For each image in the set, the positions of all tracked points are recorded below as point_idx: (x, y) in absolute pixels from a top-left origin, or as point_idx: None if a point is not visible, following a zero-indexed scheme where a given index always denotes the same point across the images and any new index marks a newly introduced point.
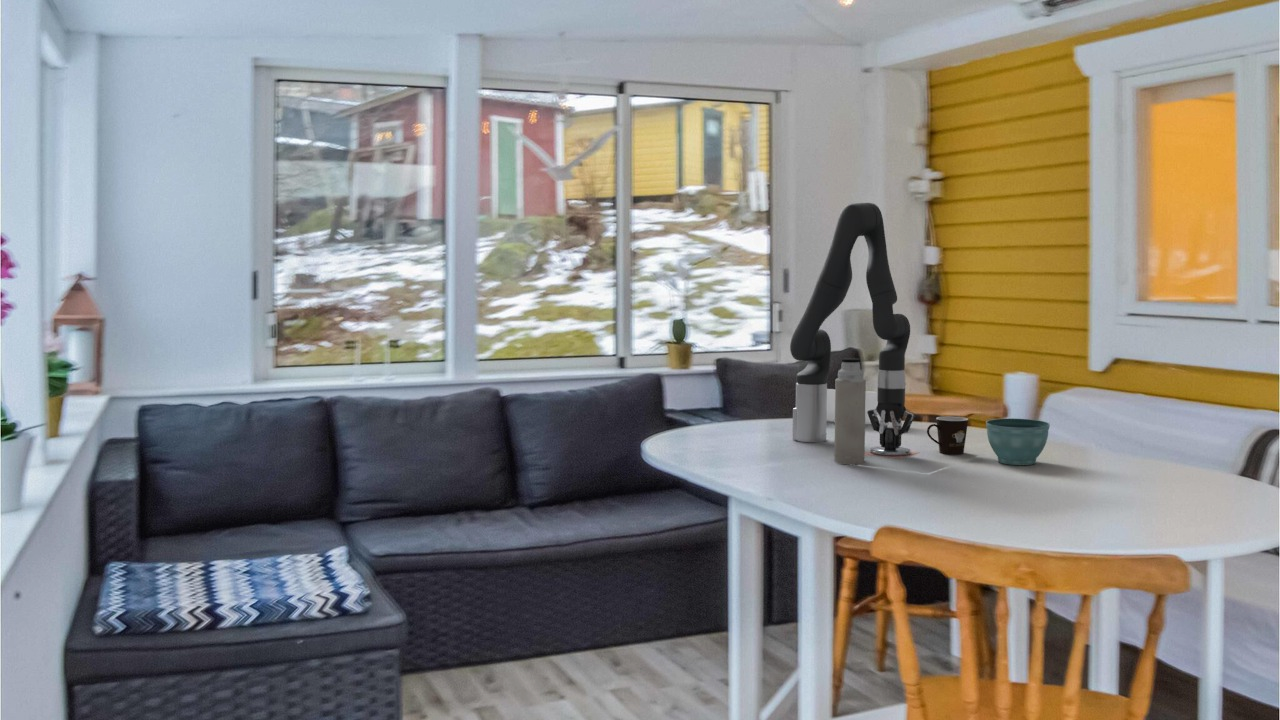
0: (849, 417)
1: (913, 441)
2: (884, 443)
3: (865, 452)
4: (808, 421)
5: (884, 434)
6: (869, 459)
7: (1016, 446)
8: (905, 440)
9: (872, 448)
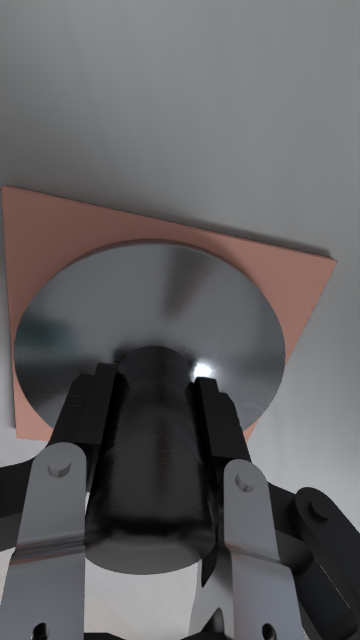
0: None
1: (156, 587)
2: (194, 395)
3: (305, 320)
4: None
5: (206, 463)
6: (250, 85)
7: None
8: (185, 589)
9: (271, 365)
